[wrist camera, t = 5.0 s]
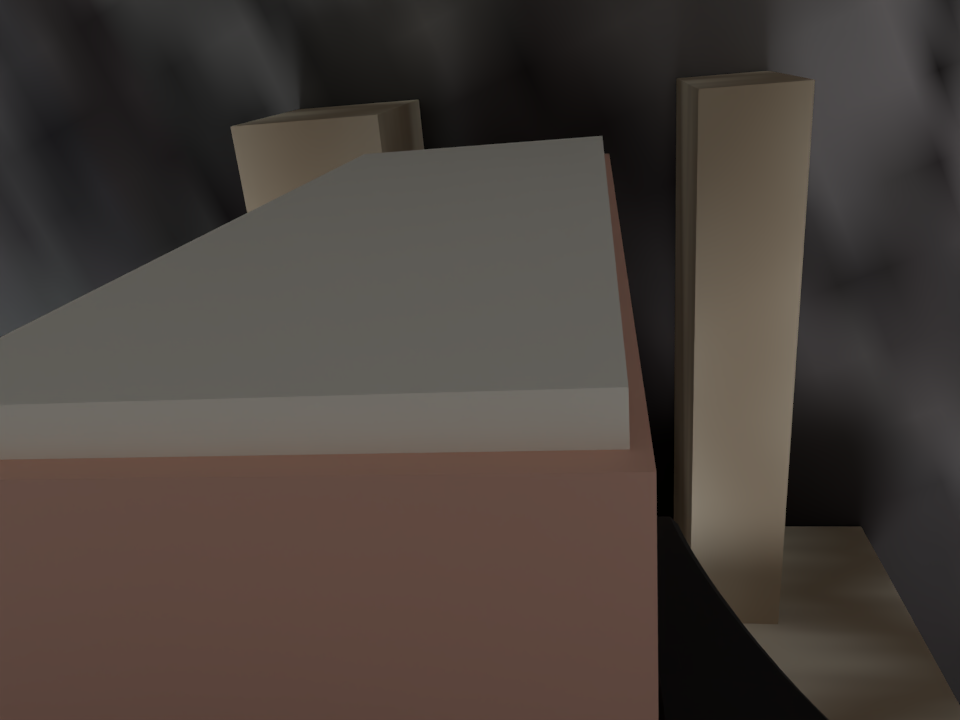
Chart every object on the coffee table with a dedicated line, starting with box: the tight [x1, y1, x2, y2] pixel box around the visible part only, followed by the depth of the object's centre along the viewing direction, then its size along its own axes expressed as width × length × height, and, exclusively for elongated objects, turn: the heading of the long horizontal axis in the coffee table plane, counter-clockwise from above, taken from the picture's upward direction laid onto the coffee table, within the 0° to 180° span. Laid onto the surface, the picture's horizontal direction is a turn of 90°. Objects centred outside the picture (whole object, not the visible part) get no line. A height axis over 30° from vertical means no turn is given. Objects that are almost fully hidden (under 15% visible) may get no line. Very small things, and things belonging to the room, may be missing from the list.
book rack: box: [231, 71, 960, 720], centre depth 17 cm, size 16×14×9 cm
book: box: [0, 136, 659, 720], centre depth 10 cm, size 4×10×10 cm, turn 5°
